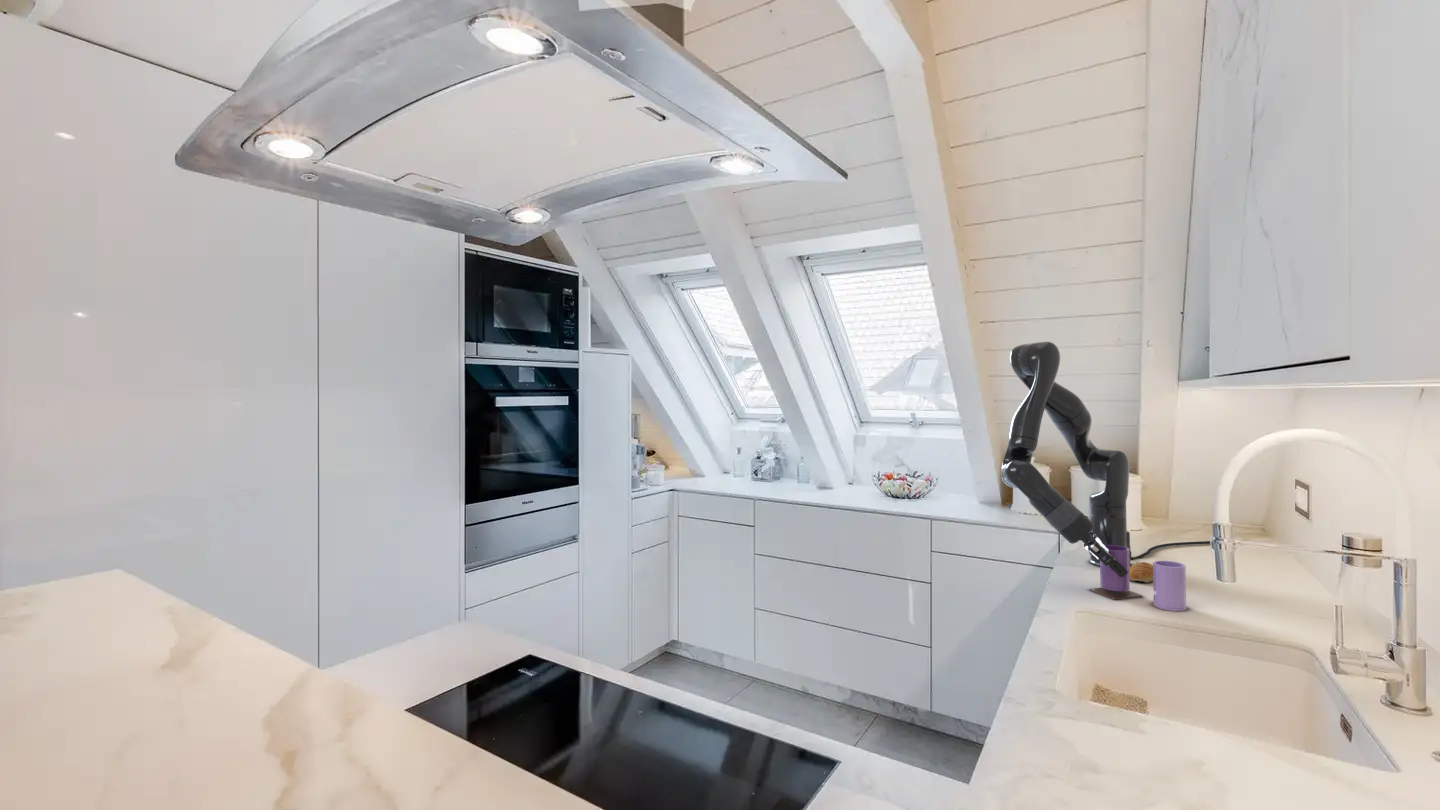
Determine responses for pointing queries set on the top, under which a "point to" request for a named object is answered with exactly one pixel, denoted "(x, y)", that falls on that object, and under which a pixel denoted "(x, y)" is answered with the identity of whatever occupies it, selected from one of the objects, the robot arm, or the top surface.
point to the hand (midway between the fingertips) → (1122, 570)
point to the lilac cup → (1169, 585)
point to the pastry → (1141, 572)
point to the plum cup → (1111, 578)
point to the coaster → (1116, 593)
